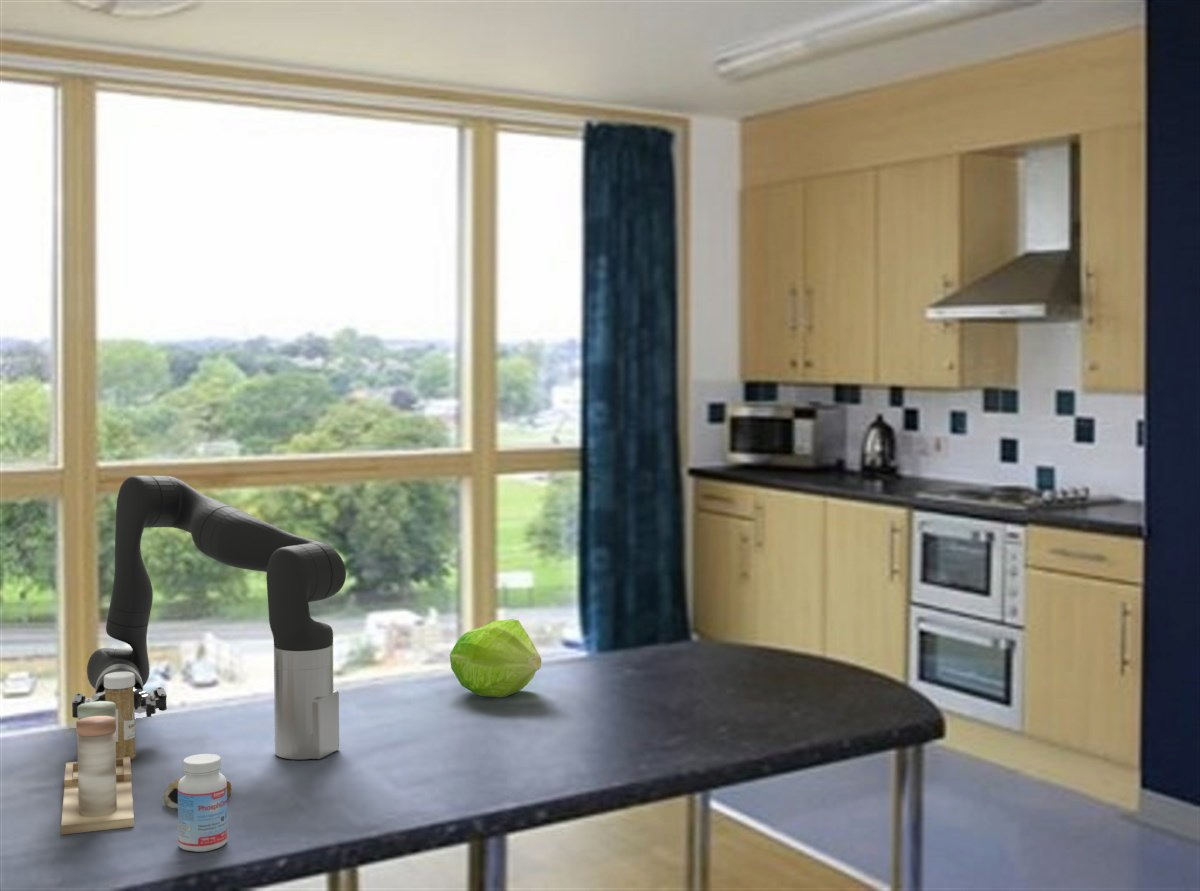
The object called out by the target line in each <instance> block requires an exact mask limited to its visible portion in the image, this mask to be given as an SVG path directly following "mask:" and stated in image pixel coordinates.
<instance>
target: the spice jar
mask: <svg viewBox="0 0 1200 891" xmlns="http://www.w3.org/2000/svg"><path fill="white" fill-rule="evenodd" d="M134 685H135V675H134V673H132V672H113V673H109V674H106V675H105V676H104V687H105V701H109V702H114V703H115V712H116V714H115V718H116V731H115V741H116V758H121V757H130V761H131V760H134V759H135V758H137V753H136V719H135V713H136V712H135V708H134Z"/></svg>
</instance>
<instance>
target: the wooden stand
mask: <svg viewBox="0 0 1200 891" xmlns="http://www.w3.org/2000/svg"><path fill="white" fill-rule="evenodd" d="M77 713H78V718H77V719H78V720H77V721H76V723H75V727H76V728H75V729H76V730H75V731H76V732H75V734H76V737H77V761H70V762H66V763H65V769H64V778H63V779H64V780H63V782H64V788H63V789H64V790H63V798H62V799H63V800H62V801H63V802H62V811H61V824H60V835H69V834H70V835H71V834H79V833H80V834H81V833H90V832H97V831H99V832H100V831H108V830H117V829H124V828H125V829H126V828H132V827H133V828H134V827H135V819H134V818H135V816H134V813H135V812H134V801H133V786H132V766H131V760H130V757H121V758H116V741H115V731H116V718H115V714H116V712H115V703H114V702H109V701H96V702H88V703H84V704H81V705H79V706H78V707H77Z"/></svg>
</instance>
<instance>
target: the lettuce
mask: <svg viewBox="0 0 1200 891" xmlns="http://www.w3.org/2000/svg"><path fill="white" fill-rule="evenodd" d="M449 661H450V669H451V670H452V672H453V674H454V675H455V677H456V678H457V680H458V682H459V684H460V686H461V687H463V688H464V689H467V690H468V691H470V692H472V693H474V694H475V695H477V696H480V697H491V698H505V697H508V696H511V695H513V694H515V693H518V692H520V691H521V690H523V689H524V688H526V686H527V685H528V684H530V682H531V681H532V680H533V678H534V677H535V675H536V673H537V671H539V670H540V669H541V666H542V657H541V655H540V654H539V652H538V650H537V648H536V646H535V644H534V643H533V641H532V639H531V637H530V635H529V634H528V632H527V631H526V630H525V628H524V627H523V625H522V623H521V622H520V620H518V619H514V618H512V619H502V620H493V621H491V622H489V623H488V624H487V623H486V624H484V625H483V626H481V627H478V628H474V629H472V630H471V629H470V630H469V631H466V632H465V633H464V634H463V635H461V636H459V638H458V640H457V641H456V642H455V644H454V646H453V648H452V650H451V651H450V654H449Z"/></svg>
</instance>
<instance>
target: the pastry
mask: <svg viewBox="0 0 1200 891" xmlns="http://www.w3.org/2000/svg"><path fill="white" fill-rule="evenodd" d="M179 781H180V779H177V780H175V781H174V782H172V783H170V784H168V788H166V790H165V793H164V794H163V796H162V799H163V803H164V804H165V806H166V807H168V808H171V809H174V810H175V809H176V810H178V783H179ZM226 781H227V798H229V797H230V795H231V794H232V785H231V782H230V781H228V780H227V779H226Z"/></svg>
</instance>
